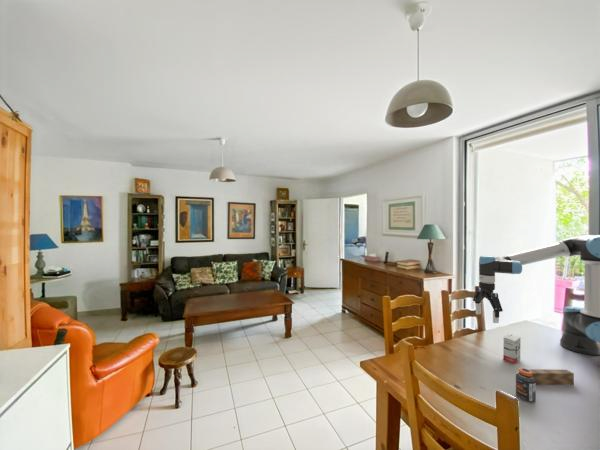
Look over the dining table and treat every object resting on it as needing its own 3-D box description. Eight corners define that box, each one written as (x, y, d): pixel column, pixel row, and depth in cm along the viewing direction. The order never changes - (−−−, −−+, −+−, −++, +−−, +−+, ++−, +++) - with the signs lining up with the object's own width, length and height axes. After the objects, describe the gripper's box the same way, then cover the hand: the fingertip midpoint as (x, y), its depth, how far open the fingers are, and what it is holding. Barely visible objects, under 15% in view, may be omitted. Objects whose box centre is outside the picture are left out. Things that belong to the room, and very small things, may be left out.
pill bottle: (511, 393, 102) (511, 366, 102) (525, 392, 103) (524, 365, 103) (526, 404, 96) (525, 374, 96) (540, 403, 97) (539, 374, 97)
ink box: (515, 364, 124) (515, 340, 124) (503, 360, 128) (502, 337, 128) (521, 359, 128) (520, 336, 129) (509, 355, 133) (508, 333, 133)
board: (566, 380, 111) (566, 369, 111) (573, 385, 108) (573, 373, 108) (523, 380, 111) (523, 369, 111) (529, 384, 108) (529, 373, 108)
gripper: (466, 277, 158) (466, 310, 158) (497, 287, 133) (496, 326, 133) (478, 277, 158) (478, 311, 158) (511, 287, 133) (511, 326, 133)
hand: (486, 318), depth 145 cm, fingers open, 13 cm apart
